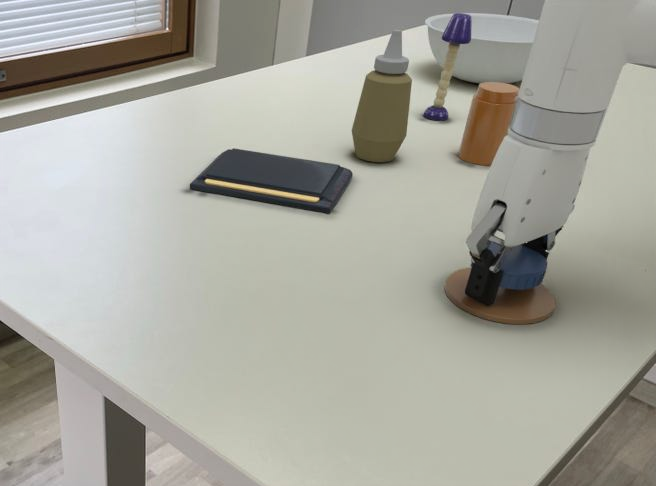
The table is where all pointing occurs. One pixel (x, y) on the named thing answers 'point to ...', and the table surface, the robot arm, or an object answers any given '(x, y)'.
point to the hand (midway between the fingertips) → (501, 288)
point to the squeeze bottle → (383, 105)
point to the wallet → (275, 179)
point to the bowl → (487, 47)
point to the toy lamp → (450, 61)
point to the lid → (521, 267)
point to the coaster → (502, 301)
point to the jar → (487, 122)
